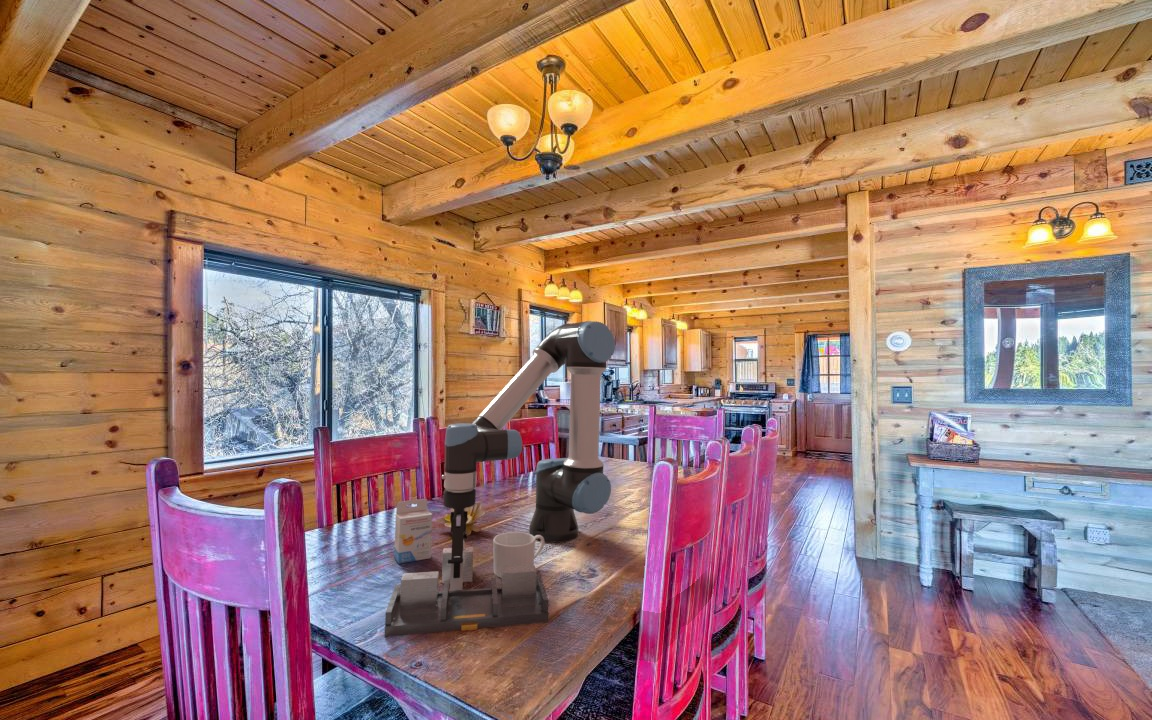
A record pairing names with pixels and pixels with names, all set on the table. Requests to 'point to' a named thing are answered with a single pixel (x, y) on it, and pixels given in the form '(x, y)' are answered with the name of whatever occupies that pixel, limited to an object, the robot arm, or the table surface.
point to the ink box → (412, 531)
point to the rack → (466, 603)
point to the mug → (514, 550)
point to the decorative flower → (471, 517)
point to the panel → (466, 564)
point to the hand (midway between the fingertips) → (457, 578)
